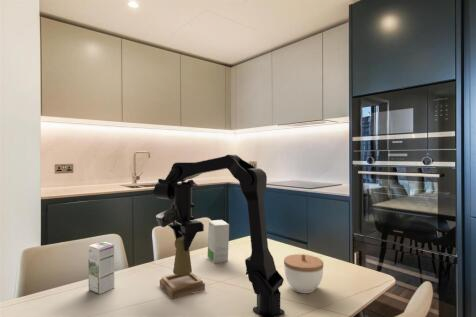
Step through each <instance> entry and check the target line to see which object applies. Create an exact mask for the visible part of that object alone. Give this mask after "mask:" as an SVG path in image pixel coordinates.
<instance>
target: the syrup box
mask: <svg viewBox="0 0 476 317" xmlns="http://www.w3.org/2000/svg"><path fill="white" fill-rule="evenodd" d="M87 249H88V252H87V253H88V258H87V260H88V291H90V292H93V293H95V294H98V295H101V294H103V293H106V292H108V291H110V290H113V289H114V288H115V244H114V243H110V242H106V241H98V242H95V243H93V244H89V245H88V248H87Z"/></svg>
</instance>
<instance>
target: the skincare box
mask: <svg viewBox="0 0 476 317" xmlns="http://www.w3.org/2000/svg"><path fill="white" fill-rule="evenodd" d="M207 228H208V229H207V230H208V233H207V258H208V259H209V260H210V261H211V262H212V263H213V264H221V263H227V262H228V261H229V242H230V240H229V237H230V223H227V222H226V221H224V220H223V219H216V220H215V219H214V220H208V226H207Z"/></svg>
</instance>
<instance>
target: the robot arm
mask: <svg viewBox="0 0 476 317" xmlns="http://www.w3.org/2000/svg"><path fill="white" fill-rule="evenodd" d="M222 170H228V171H229V172H230V173H231V175H232V177H234V178H235V179H236V180H237V181H238V183H239V186H240V191H241V193H242V195H243V197H244V199H245V200H246V205H247V215H248V216H247V218H248V225H249V228H248V229H249V236H250V248H251V249H250V250H251V254H250V256H249V257H246V258H245V260H244V263H245V268H246V270H245V271H246V272H245V275H246V276H248V277H247V279H248V280H249V282H250V283H251V286H252V289H253V292H254V294H255V295H256V306H255V307H252V311H254V312H255V313H256V314H257V315H259V316H260V317H278V316H281V315H284V314H285V310H284V309H282V308H281V291H280V289H279V288H280V287H281V286H283V283H284V281H285V280H284V277H283V276H282V275H281V274H280V272H279V271H278V270H277V269H276V264H275V260H274V257H273V255H272V253H271V252H270V249H269V243H268V234H267V224H266V223H267V222H266V213H265V202H264V199H265V198H264V197H265V194H266V191H267V185H268V184H267V183H268V180H267V179H268V177H267V173H266V172H265V171H264V170H263V169H261V168H259V167H255V166H254V165H253V164H251V163H249V162H247V161H246V160H244V159H242V158H241V157H240V156H239V155H237V154H226V155H224V156H220V157H214V158H210V159H206V160H201V161H191V162H190V161H189V162H187V161H186V162H184V161H183V162H182V161H181V162H180V161H179V162H178V161H177V162H174V163H173V164H172V165H171V169H170V171H169V172H168V174H167V175H166V177H165V178H164V177H163V178H158V179H157V183H155V186H153V187H154V188H153V194H154V197H155V198H157V199H163V200H171V201H172V200H173V203H172V202H171V205H170V208H169V209H167V210H164V211H162V212H160V213H158V214H156V215H155V219H156V222H157V224H158V226H160V227H161V228H165V227H167V226H168V227H169V228H170V229H171V230H172V231H173V234H174V239H175V240H176V239H177V238H180V237H183V245H184V251H188V249H189V250H190V247H191V246H192V243H193V241H194V239H195V237H196V236H197V234H198V233H200V232H201V233H202V232H204V230H205V228H204V227H205V225H204V224H203V222H202V221H199V220H197V219H196V220H195V216H193V213H192V212H193V210H192V209H193V208H195V203H193V197H192V196H193V188H197V187H199V185H198V184H197V183H196V181H194V180H193V179H195V178H197V177H199V176H200V175H202V174H206V173H210V172H211V173H212V172H216V171H222Z"/></svg>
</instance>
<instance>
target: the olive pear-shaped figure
mask: <svg viewBox="0 0 476 317" xmlns="http://www.w3.org/2000/svg"><path fill="white" fill-rule="evenodd" d="M174 247H175V255H174V263H173V271H172V272H173V273H172V274H176V275H187V274H190V273H191V272H192V271H193V270H192V269H193V268H192V262H191V253H190V248H189V249H188V251H184V245H183V237H180V238H177V239H176V238H175V241H174ZM192 273H193V272H192Z"/></svg>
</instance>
